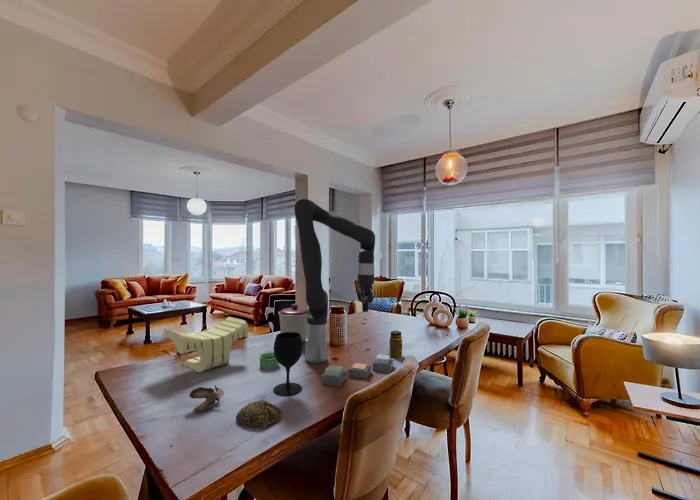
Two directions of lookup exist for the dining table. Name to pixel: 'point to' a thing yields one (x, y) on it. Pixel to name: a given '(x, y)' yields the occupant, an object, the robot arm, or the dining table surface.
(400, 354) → the condiment
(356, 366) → the terracotta button
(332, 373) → the sage green button
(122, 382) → the dining table surface
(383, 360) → the dusty blue button
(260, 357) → the ramekin
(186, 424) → the dining table surface
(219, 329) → the slatted curved stool
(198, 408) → the eagle figurine
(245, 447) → the dining table surface
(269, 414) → the brown low domed lump
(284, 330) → the canister
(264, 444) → the dining table surface
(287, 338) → the wine glass
